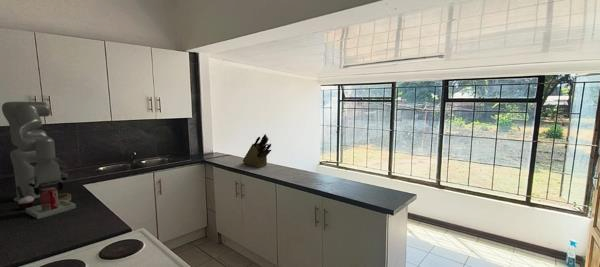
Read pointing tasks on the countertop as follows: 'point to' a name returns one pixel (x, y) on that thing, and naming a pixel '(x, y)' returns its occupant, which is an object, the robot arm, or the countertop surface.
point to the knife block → (258, 153)
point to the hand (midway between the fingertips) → (49, 191)
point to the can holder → (64, 197)
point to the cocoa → (24, 200)
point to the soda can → (49, 198)
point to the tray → (39, 213)
